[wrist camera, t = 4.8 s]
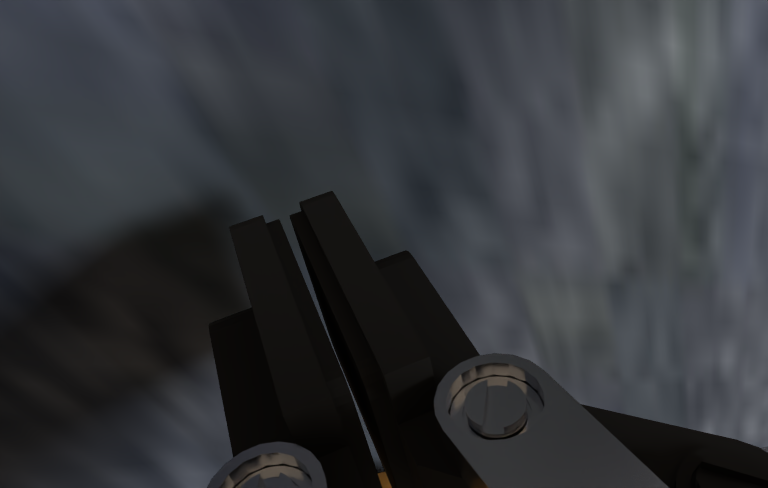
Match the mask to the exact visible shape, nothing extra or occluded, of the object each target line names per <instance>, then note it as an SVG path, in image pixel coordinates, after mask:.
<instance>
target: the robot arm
mask: <svg viewBox="0 0 768 488" xmlns="http://www.w3.org/2000/svg"><path fill="white" fill-rule="evenodd" d="M299 203H300V208H301V212H298V213H295V214H292V215H290V219H291V222H292V225H293V228H294V231H295V234H296V237H297V240H298V243H299V246H300V249H301V252H302V255H303V258H304V261H305V264H306V267H307V270H308V273H309V276H310V279H311V282H312V285H313V288H314V291H315V294H316V297H317V300H318V303H319V306H320V309H321V312H322V315H323V318H324V321H325V324H326V327H327V330H328V333H329V335H330V338H331V341H332V344H333V347H334V349H335V352H336V355H337V357H338V359H339V362H340V364H341V367H342V369H343V371H344V374H345V376H346V379H347V381H348V383H349V386H350V388H351V391H352V393H353V395H354V398H355V400H356V403H357V405H358V407H359V410H360V412H361V415H362V417H363V419H364V422H365V424H366V427H367V429H368V432H369V434H370V436H371V439H372V441H373V444H374V446H375V448H376V451H377V453H378V456H379V458H380V460H381V463H382V465H383V468H384V470H385V472H386V475H387V477H388V480H389V482H390V484H391V487H392V488H768V447H763V448H759V447H756V446H753V445H750V444H747V443H744V442H742V441H739V440H735V439H731V438H726V437H722V436H718V435H713V434H709V433H704V432H700V431H696V430H691V429H687V428H683V427H678V426H674V425H669V424H665V423H661V422H656V421H652V420H647V419H643V418H639V417H634V416H630V415H625V414H621V413H617V412H612V411H608V410H604V409H599V408H595V407H590V406H586V405H582V404H579V403H578V402H577V401H576V400H575V399H574V398H573V397H572V396H571V395H570V394H569V393H568V392H567V391H566V390H565V389H564V388H562V387H561V386H560V385H559V384H558V383H557V382H556V381H555V380H554V379H553V378H552V377H551V376H550V375H549V374H548V373H546V372H545V371H544V370H543V369H541V368H540V367H539V366H537V365H536V364H534V363H533V362H531V361H530V360H527V359H524V358H521V357H518V356H515V355H509V354H498V353H494V354H487V355H479V353H478V352H477V350H476V349H475V347H474V346H473V344H472V343H471V341H470V340H469V338H468V337H467V336H466V334H465V333H464V331H463V330H462V328H461V327H460V325H459V324H458V322H457V321H456V319H455V318H454V316H453V315H452V313H451V312H450V311H449V309H448V308H447V306H446V305H445V303H444V302H443V300H442V299H441V297H440V296H439V294H438V293H437V291H436V290H435V288H434V287H433V285H432V284H431V283H430V281H429V280H428V278H427V277H426V275H425V274H424V272H423V271H422V269H421V268H420V266H419V265H418V263H417V262H416V260H415V259H414V258H413V256H412V255H411V254H410V253H409V252H408V251H406V250H405V251H403V252H400V253H397V254H395V255H392V256H389V257H386V258H384V259H381V260H378V261H376V262H374V260H373V259H372V257H371V255H370V254H369V252H368V250H367V249H366V247H365V245H364V243H363V242H362V240H361V238H360V237H359V235H358V233H357V231H356V230H355V228H354V226H353V225H352V223H351V221H350V220H349V218H348V216H347V214H346V213H345V211H344V209H343V208H342V206H341V204H340V202H339V201H338V199H337V197H336V196H335V194H334V193H333V191H330V192H327V193H324V194H321V195H319V196H316V197H313V198H310V199H307V200H304V201H301V202H299ZM229 228H230V232H231V236H232V239H233V243H234V246H235V250H236V253H237V257H238V260H239V264H240V267H241V271H242V274H243V278H244V281H245V285H246V288H247V292H248V295H249V299H250V302H251V306H252V308H249V309H247V310H244V311H241V312H239V313H236V314H233V315H231V316H228V317H225V318H223V319H220V320H217V321H214V322H212V323H210V324H209V331H210V337H211V343H212V348H213V353H214V358H215V364H216V369H217V374H218V379H219V385H220V390H221V395H222V400H223V405H224V411H225V416H226V421H227V426H228V432H229V437H230V442H231V447H232V453H233V458H232V459H231V460H230V461H228V462H227V463H225V464H224V466H223V467H222V468H221V469H220V470H219V471H218V472H217V473H216V475H215V476H214V477H213V478H212V479H211V481H210V483H209V485H208V487H207V488H382V485H381V482H380V479H379V476H378V473H377V470H376V467H375V464H374V461H373V458H372V455H371V452H370V449H369V446H368V443H367V440H366V437H365V434H364V431H363V428H362V425H361V422H360V419H359V416H358V413H357V410H356V407H355V404H354V401H353V399H352V396H351V393H350V390H349V388H348V385H347V382H346V380H345V377H344V375H343V372H342V370H341V367H340V365H339V362H338V360H337V358H336V355H335V353H334V350H333V348H332V346H331V343H330V341H329V338H328V336H327V333H326V331H325V329H324V326H323V324H322V321H321V319H320V317H319V314H318V312H317V309H316V307H315V305H314V302H313V300H312V297H311V295H310V292H309V290H308V288H307V285H306V283H305V280H304V278H303V276H302V273H301V271H300V268H299V266H298V263H297V261H296V259H295V256H294V254H293V251H292V249H291V247H290V244H289V242H288V239H287V237H286V234H285V232H284V230H283V227H282V225H281V222H280V220H279V219H278V220H275V221H272V222H269V223H267V224H266V223H265V220H264V217H263V215H261V216H259V217H256V218H253V219H250V220H247V221H244V222H241V223H239V224H236V225H233V226H230V227H229Z"/></svg>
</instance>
